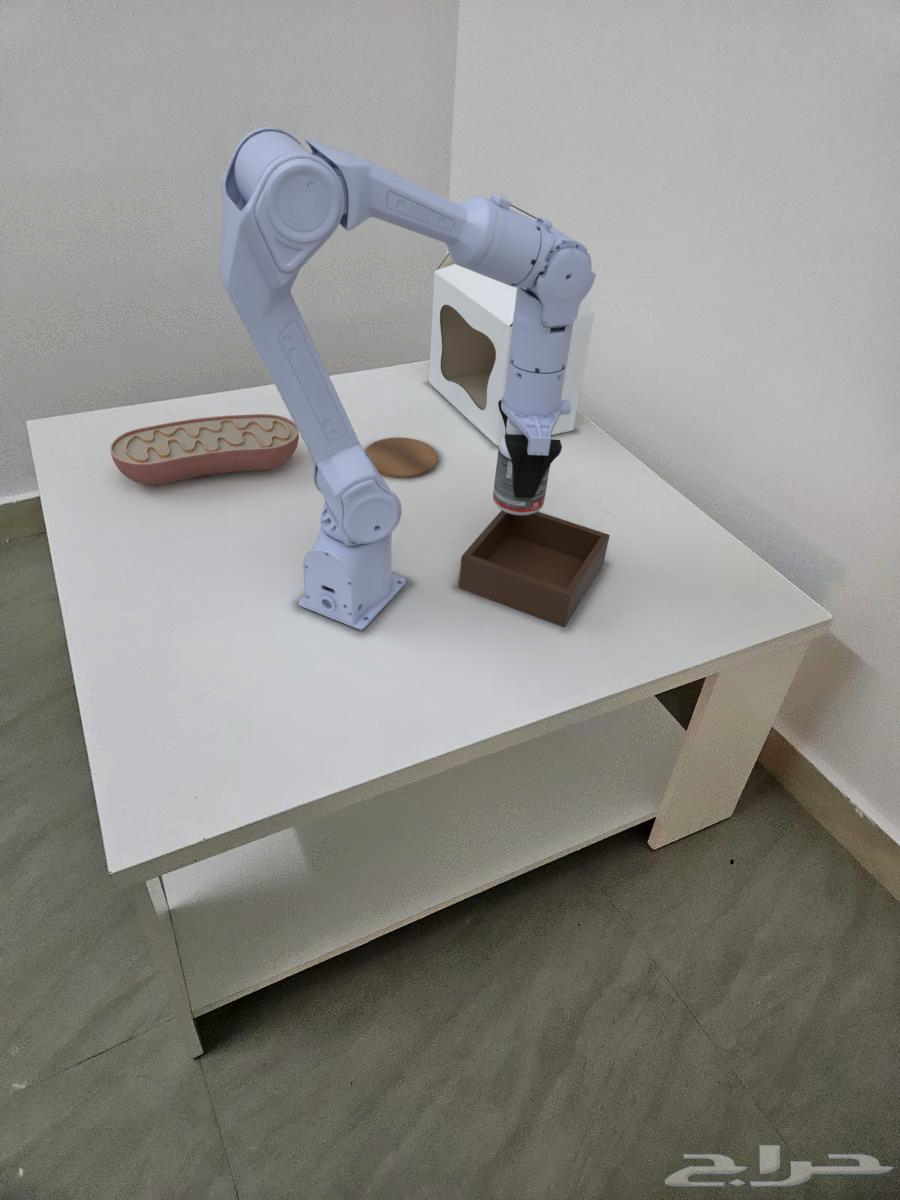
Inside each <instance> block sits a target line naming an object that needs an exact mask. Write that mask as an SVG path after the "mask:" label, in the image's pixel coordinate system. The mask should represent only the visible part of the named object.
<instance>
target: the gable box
mask: <svg viewBox="0 0 900 1200" xmlns="http://www.w3.org/2000/svg"><path fill="white" fill-rule="evenodd" d="M491 195H492V194H491ZM491 195H489V196H488V197H487V198H488V199H490V197H491ZM509 209H512V210H514V211H516V212H518V213H520V214H522V215H524V216H527V217H529V218H531V219H533V220H535V221H536V219H537V218H538V217H536V216H534V215H533V214H531V213H529V212H527V211H525V210H522V209H521V208H519V207H517V206H516V205H513V204H512V203H511V205H510V207H509ZM433 274H434V275H433V292H432V293H433V294H432V314H431V333H430V334H431V335H430V355H429V375H428V376H429V377H428V383H429V385H431V386H432V387H433V388H434V389H435V390H436V391H438V393H440V394H441V395H442V396H443V398H445V399H446V400H447V401H448V402H449V403H450V404H451V405H452V406H453V407H455V409H456V410H458V411H459V412H460V413H461V414H462V415H463V416H464V417H465V418H466V419H467V420H468V421H469V422H470V423H471V424H473V425H474V426H475V428H477V429H478V430H479V431H480V432H481V433H482V434H483V435H484V436H485V437H487V438H488V439H489V441H491V442H492V443H493V444H494V445H495V446H496V447H499V444H500V441H501V439H502V438H503V437H504V436H505V434H506V431H505V425H504V421H503V418H502V415H501V413H500V411H499V406H498V402H499V401H500V400H502V398H503V396H504V394H505V386H506V377H507V369H508V360H509V352H510V344H511V335H512V327H513V318H514V309H515V301H516V292H517V288H516V287H512V286H509V285H506V284H504V283H501V282H499V281H496V280H494V279H491V278H489V277H486V276H484V275H481V274H479V273H476V272H474V271H471V270H468V269H466V268H463V267H461V266H458V265H456V264H455V263H454V262H453V261H452V259H451V257H450V254H449V252H448V254H447V255H446V256H445V257H444V259H443V260H442V261H441V263H440V265H438V267H437V269H435V271H434V273H433ZM524 289H525V288H524ZM594 316H595V313H594V312H593V310H592V308H591V305H590V303H589V302H588V300H587V298H586V297H585V298H584V299H583V300H582V302H581V303H580V306H579V309H578V315H577V318H576V319H574V324H573V330H572V336H571V342H570V348H569V354H568V360H567V366H566V372H565V378H564V384H563V390H562V396H561V400H568V401H569V402H570V404H571V413H570V414H567V415H565V414H562V415H560V416H559V418H558V420H557V423H556V425H555V427H554V429H553V431H552V433H551V436H553V435H554V436H555V435H559V434H563V433H568V432H573V431H574V429H575V424H576V419H577V414H578V407H579V402H580V397H581V391H582V384H583V379H584V373H585V367H586V362H587V356H588V351H589V345H590V338H591V333H592V329H593V322H594Z"/></svg>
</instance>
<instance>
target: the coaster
mask: <svg viewBox="0 0 900 1200" xmlns="http://www.w3.org/2000/svg"><path fill="white" fill-rule="evenodd" d="M364 450H365V451H366V452H367V453H368V455H369V456H370V458H371V460H372V463H373V465H374V466H375V468H376V469H377V471H378V472H379V473H380V475H381V476H385V477H389V478H395V479H411V478H417V477H420V476H424V475H426V474H429V473H430V472H431V471H433V470H434V469H435V468H436V466H437V464H438V453H437V451H436V450H435V449H434V448H433V447H432V446H431V445H429V444H428V443H427V442H424V441H421V440H419V439H416V438H409V437H387V438H382V439H379V440H376V441H374V442H372V443H371V444H369V445H368V446H367V447H366V448H365V449H364Z"/></svg>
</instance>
